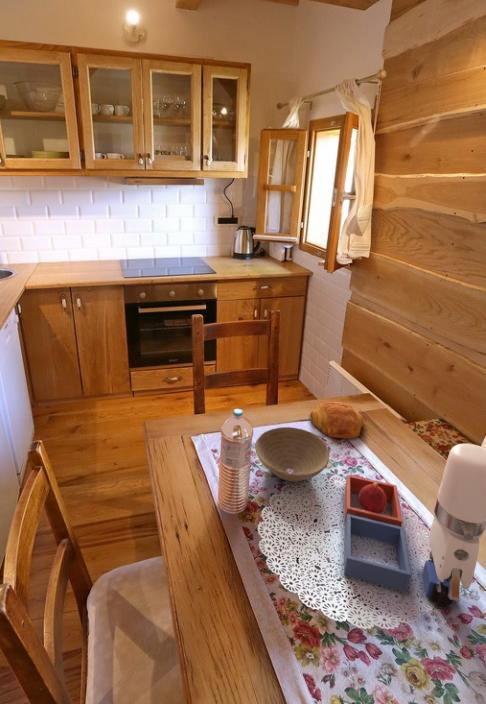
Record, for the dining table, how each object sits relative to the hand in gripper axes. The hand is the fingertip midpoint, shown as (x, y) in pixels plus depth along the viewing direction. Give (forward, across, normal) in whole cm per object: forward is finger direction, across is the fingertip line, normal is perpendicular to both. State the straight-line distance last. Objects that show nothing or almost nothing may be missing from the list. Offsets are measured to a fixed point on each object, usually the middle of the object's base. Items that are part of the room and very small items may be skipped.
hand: (436, 590), depth 75 cm
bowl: (+1, +23, +30) cm, 38 cm away
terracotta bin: (0, +16, +11) cm, 19 cm away
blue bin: (0, +3, +11) cm, 11 cm away
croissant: (+1, +48, +19) cm, 52 cm away
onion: (0, +16, +11) cm, 19 cm away
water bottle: (+1, +8, +41) cm, 42 cm away
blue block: (0, 0, 0) cm, 0 cm away
